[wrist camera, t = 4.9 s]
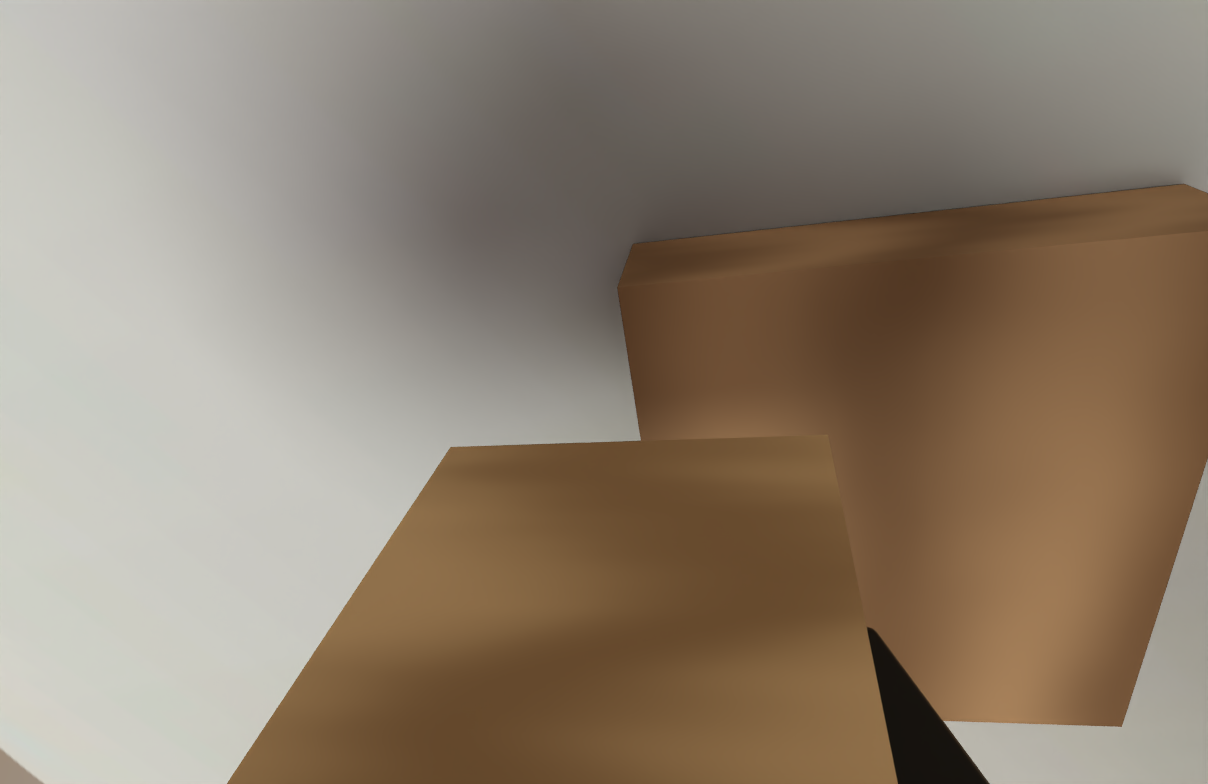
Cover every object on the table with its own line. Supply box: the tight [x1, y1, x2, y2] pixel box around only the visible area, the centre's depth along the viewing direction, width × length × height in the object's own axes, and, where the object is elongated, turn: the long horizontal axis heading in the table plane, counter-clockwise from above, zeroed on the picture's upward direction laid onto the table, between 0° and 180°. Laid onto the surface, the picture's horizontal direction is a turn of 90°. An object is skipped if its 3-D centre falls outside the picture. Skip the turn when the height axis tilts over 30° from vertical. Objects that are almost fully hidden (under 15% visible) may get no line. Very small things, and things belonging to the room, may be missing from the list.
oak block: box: [227, 435, 898, 784], centre depth 7 cm, size 5×5×6 cm
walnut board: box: [617, 184, 1208, 727], centre depth 18 cm, size 12×14×3 cm
